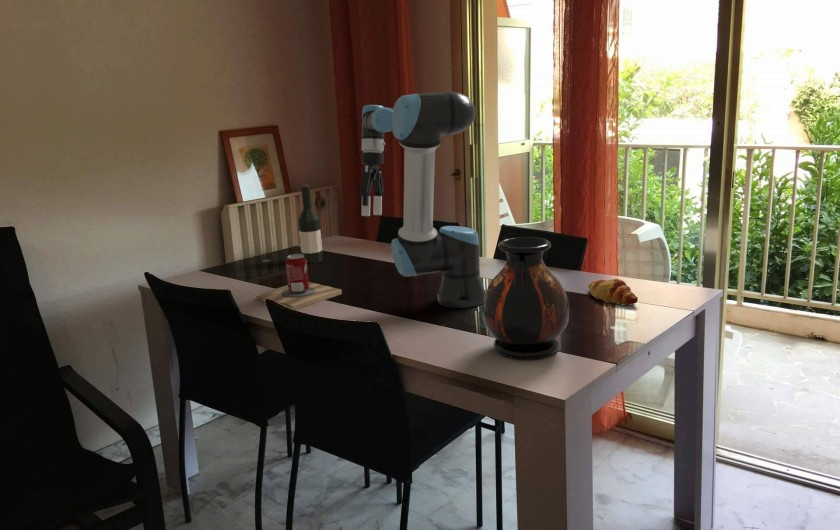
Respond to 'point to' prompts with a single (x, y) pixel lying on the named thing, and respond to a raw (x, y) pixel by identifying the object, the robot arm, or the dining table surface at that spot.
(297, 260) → the soda can
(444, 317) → the dining table surface
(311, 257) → the wine bottle
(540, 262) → the ceramic vase
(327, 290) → the oak board
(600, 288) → the croissant
